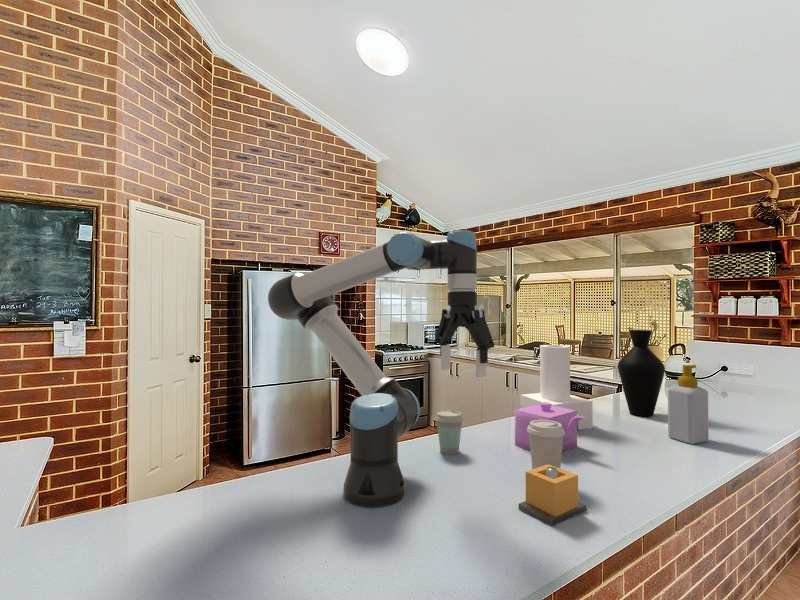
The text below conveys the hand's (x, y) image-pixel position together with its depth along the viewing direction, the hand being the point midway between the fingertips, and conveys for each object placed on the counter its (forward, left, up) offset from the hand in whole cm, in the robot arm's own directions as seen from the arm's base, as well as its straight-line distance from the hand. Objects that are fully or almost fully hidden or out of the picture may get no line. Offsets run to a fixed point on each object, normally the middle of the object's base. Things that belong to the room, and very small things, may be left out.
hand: (462, 372), depth 113 cm
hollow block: (+7, -22, -28) cm, 36 cm away
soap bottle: (+87, -16, -29) cm, 93 cm away
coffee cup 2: (+19, -11, -29) cm, 36 cm away
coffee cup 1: (+13, +21, -29) cm, 38 cm away
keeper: (+7, -22, -29) cm, 37 cm away
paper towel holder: (+67, +22, -29) cm, 76 cm away
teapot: (+42, +6, -29) cm, 52 cm away
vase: (+107, +10, -29) cm, 111 cm away
